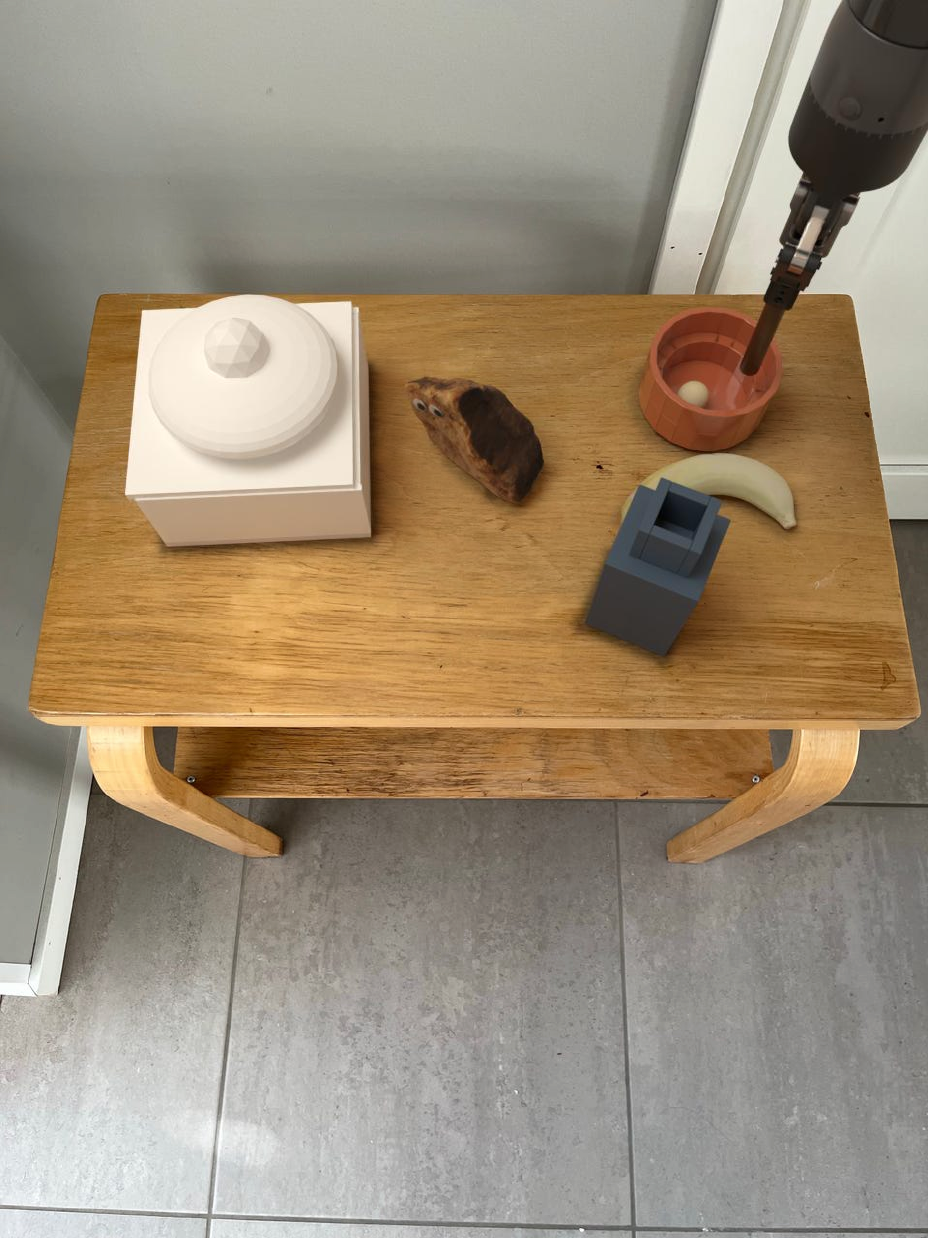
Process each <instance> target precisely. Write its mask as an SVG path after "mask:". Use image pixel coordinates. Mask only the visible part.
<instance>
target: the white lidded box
mask: <svg viewBox="0 0 928 1238" xmlns="http://www.w3.org/2000/svg"><path fill="white" fill-rule="evenodd" d="M360 313H361V312H360V308H359V306H354V307H353V303H352V301H351V300H349V301H327V302H325V301H323V302H305V303H303V302H302V303H293V302H290V301H289V300H285V299H283V298H280V297H275V296H271V295H270V296H269V295H265V294H240V295H239V294H238V295H231V296H226V297H222V298H218V299H215V300H211V301H209V302H207V303H205V304H203V305H200V306H197V307H187V308H185V307H184V308H164V309H163V308H162V309H142V311H141V319H140V327H139V341H138V351H137V361H136V373H135V384H134V394H133V403H132V405H133V406H132V413H131V414H132V416H131V425H130V437H129V447H128V459H127V470H126V479H125V490H124V496H125V497H126V499H127V500H128V501H129V500H130V501H131V500H134V502H135V504H136V505H137V506H138V507H139V509H140V510H141V512H142V514H143V515H144V516H145V518H146V519H147V521H148V522H149V523H150V524H151V526H152V527H153V529H154V530H155V531H156V533H157V534H158V536H159V537H160V539H161V540H162V541H163V543H164V544H165V546H166V547H167V548H168V547H169V548H170V547H171V548H172V547H189V546H190V547H193V546H212V545H213V546H214V545H215V546H216V545H232V544H253V543H255V544H257V543H274V542H275V543H277V542H297V541H318V540H338V539H339V540H340V539H342V540H343V539H361V538H372V509H371V505H372V503H371V499H372V497H371V446H370V445H371V444H370V443H371V441H370V438H371V437H370V381H369V380H370V379H369V378H370V377H369V376H370V373H369V363H368V357H367V349H366V345H365V338H364V333H363V326H362V320H361V314H360Z"/></svg>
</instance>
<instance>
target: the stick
mask: <svg viewBox="0 0 928 1238" xmlns="http://www.w3.org/2000/svg"><path fill="white" fill-rule="evenodd" d="M785 313H786V310H782V309H779V308H777V307H774V306H771V305H768V304H766V303H765V302H764V306H763V308H762V311H761V313H760V315H759V318H758V320H757V321H756V322H757V325H756V327H755V330H754V332H753V335H752V337H751V339H750V342H749V344H748V347H747V349H746V352H745V354H744V356H743V359H742V361H741V364H740V371H741V372H742V373H743V374H744V375H747V376H753V375H755V374H757V373H758V371H759V369H760V366H761V364H762V362H763V360H764V358H765V355H766V353H767V351H768V349H769V346H770V344H771V342H772V340H773V338H774V337H775V336H776V332H777V331H778V328H779V326H780V323H781V321H782V320H783V317H784V315H785Z"/></svg>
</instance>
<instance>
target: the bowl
mask: <svg viewBox="0 0 928 1238" xmlns="http://www.w3.org/2000/svg"><path fill="white" fill-rule="evenodd" d="M757 322H758V321H756V320H755V319H753V318H752V317H751V316H749V315H747V314H745V313H742V312H739V311H736V310H734V309H731V308H727V307H717V306H700V307H696V308H690V309H686V310H683V311H682V312H680V313H678V314H676V315H674V316H671V317H669V319H668V320H667V321H666V322H665V323H664V324H662V326H661V327H660V328H659V329H658V330H657V331H656V333H655V336H654V337H653V340H652V342H651V344H650V346H649V350H648V353H647V357H646V360H645V363H644V366H643V370H642V374H641V377H640V379H639V387H638V402H639V405H640V408H641V411H642V414H643V417H644V418H645V419H646V421H647V422H648V423H649V425H650V427H652V428H653V430H654V431H655V432H656V433H658V434H659V435H660V436H662V437H663V438H665V439H666V440H667V441H669V442H671V443H672V444H674V445H677V446H680V447H682V448H685V449H688V450H692V451H703V452H714V451H720V450H726V449H729V448H732V447H734V446H736V445H737V444H740V443H741V442H744V441H745V440H747V439H748V438H749V436H750V435H751V434H752V433H754V431H755V430H757V428H758V426H759V425H760V423H761V421H762V419H763V418H764V416H765V414H766V411H768V408H769V406H770V404H771V403H772V401H773V399H774V397H775V395H776V393H777V391H778V389H779V387H780V384H781V381H782V378H783V375H784V373H783V372H784V369H783V368H784V367H783V366H784V364H783V362H784V361H783V356H782V353H781V351H780V348H779V345H778V343H777V341H776V339H775V338H774V337H773V340H772V342H771V344H770V346H769V349H768V351H767V353H766V355H765V358H764V360H763V362H762V364H761V366H760V369H759V371H758V373H757V374H755V375H753V376H747V375H744V374H743V373H742V372H741V371H740V364H741V361H742V359H743V356H744V354H745V352H746V349H747V347H748V344H749V342H750V339H751V337H752V335H753V332H754V330H755V327H756V325H757ZM690 381H698V382H701V383H703V384H704V385H705V386H706V387H707V389H708V391H709V402H708V404H707V406H706V407H705V408H704V409H703V408H701V407H698V406H695V405H693V404H690V403H687V402H686V401H685V400H683V399H682V398H680V397H679V396H678V395H677V394H678V391H679V389H680V388H681V387H682V386H683V385H684V384H685V383H687V382H690Z"/></svg>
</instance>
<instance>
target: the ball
mask: <svg viewBox="0 0 928 1238" xmlns="http://www.w3.org/2000/svg"><path fill="white" fill-rule="evenodd" d="M677 395H678V396H679V397H680V398H682V399H683V400H685V401H686V402H687V403H690V404H693V405H695V406H698V407H701V408H703V409H704V408H705V407H706V406H707V404H708V402H709V391H708V389H707V387H706V386H705V385H704V384H703V383H701V382H698V381H690V382H687V383H685V384H684V385H683V386H682V387H681V388H680V389H679V391H678V394H677Z"/></svg>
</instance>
